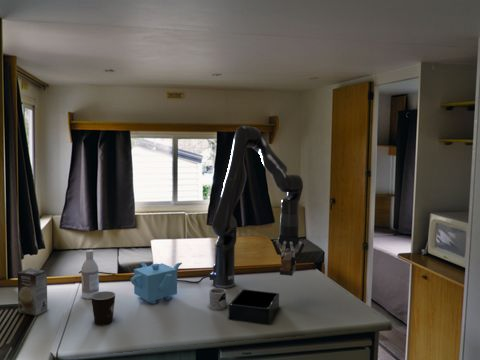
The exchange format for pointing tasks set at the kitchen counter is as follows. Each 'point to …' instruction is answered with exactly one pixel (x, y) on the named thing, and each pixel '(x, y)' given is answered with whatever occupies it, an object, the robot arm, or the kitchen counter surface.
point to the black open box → (254, 306)
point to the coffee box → (32, 291)
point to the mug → (217, 298)
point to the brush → (287, 265)
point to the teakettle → (155, 281)
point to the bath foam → (89, 276)
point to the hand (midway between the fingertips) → (288, 265)
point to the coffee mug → (103, 307)
